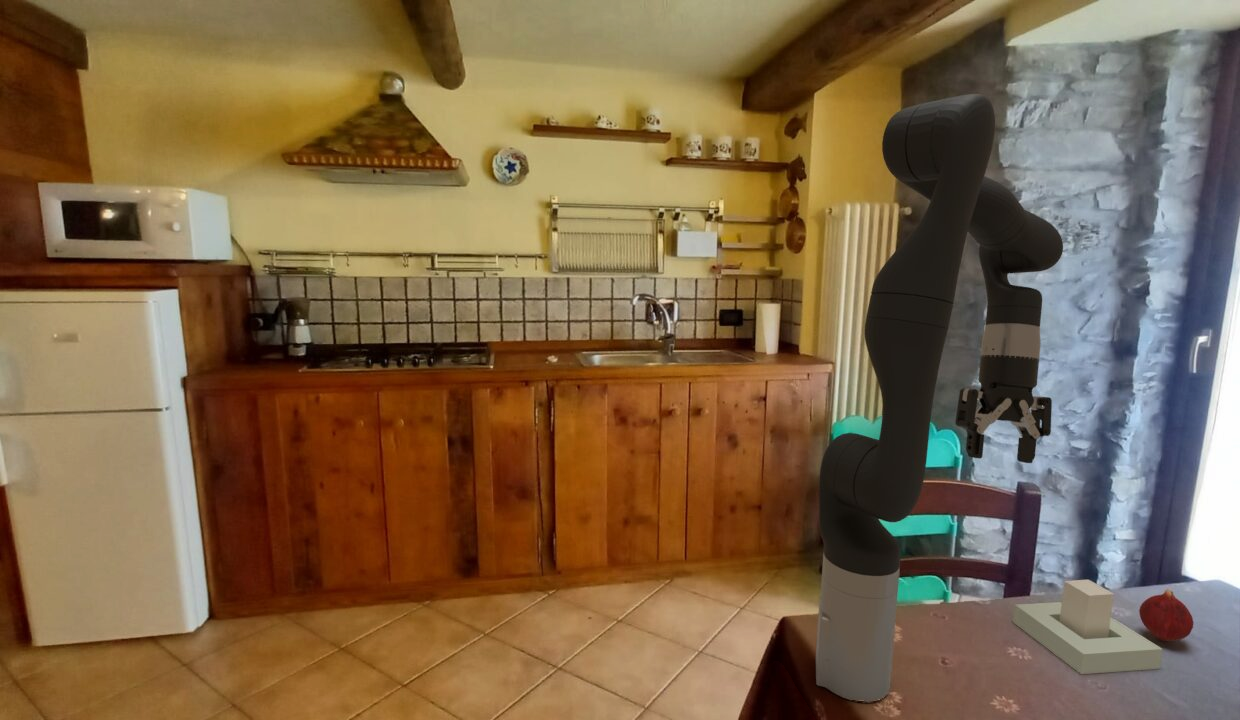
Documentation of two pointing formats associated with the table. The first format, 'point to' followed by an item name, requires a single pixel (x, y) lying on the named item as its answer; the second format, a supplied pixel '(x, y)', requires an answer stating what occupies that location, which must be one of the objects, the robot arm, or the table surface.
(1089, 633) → the plug
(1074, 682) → the table surface
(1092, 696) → the table surface
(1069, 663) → the socket
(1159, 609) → the onion
